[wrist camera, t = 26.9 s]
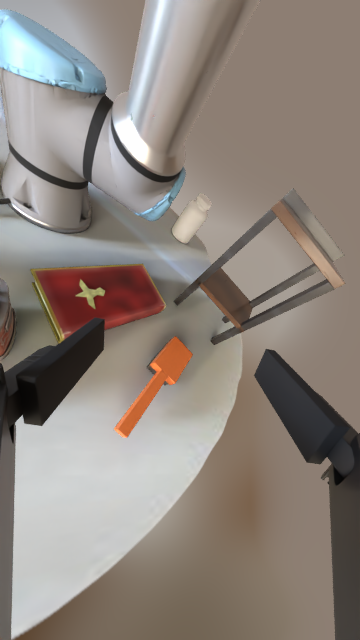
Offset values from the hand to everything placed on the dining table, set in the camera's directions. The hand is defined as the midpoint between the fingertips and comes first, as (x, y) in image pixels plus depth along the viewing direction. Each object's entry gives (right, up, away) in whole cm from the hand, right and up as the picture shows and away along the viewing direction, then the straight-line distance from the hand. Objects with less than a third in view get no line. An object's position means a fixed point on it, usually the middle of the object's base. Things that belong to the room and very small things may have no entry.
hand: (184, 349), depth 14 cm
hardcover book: (-16, +6, +21) cm, 27 cm away
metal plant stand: (+7, +5, +38) cm, 39 cm away
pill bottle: (-1, +35, +51) cm, 62 cm away
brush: (-6, -10, +19) cm, 22 cm away
